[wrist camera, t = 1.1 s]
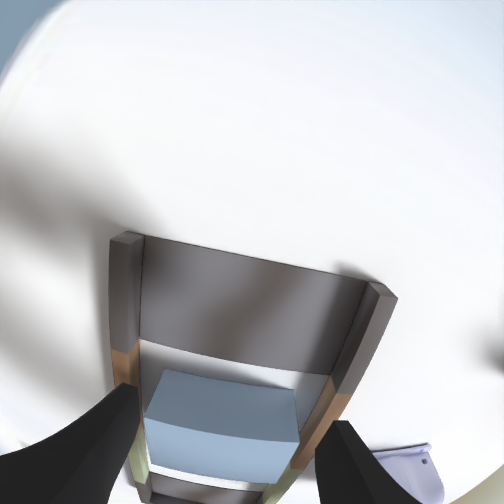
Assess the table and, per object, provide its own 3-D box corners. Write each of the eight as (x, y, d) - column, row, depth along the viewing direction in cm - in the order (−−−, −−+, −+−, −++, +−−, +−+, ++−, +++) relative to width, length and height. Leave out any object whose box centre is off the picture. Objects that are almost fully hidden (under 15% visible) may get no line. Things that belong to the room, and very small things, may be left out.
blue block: (293, 388, 18) (299, 442, 13) (274, 435, 20) (275, 483, 15) (165, 366, 18) (143, 417, 13) (166, 417, 20) (151, 463, 15)
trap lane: (384, 284, 16) (398, 298, 14) (257, 512, 25) (257, 523, 23) (126, 231, 15) (110, 239, 13) (144, 491, 25) (141, 502, 23)
